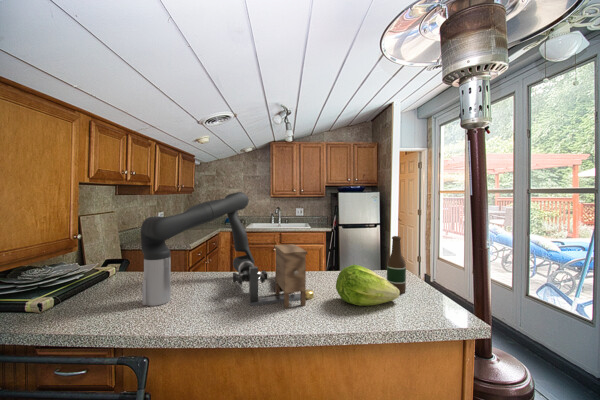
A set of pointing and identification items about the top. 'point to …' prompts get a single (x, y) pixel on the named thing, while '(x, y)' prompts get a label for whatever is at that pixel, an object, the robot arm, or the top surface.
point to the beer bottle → (396, 266)
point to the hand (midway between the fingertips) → (252, 281)
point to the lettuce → (364, 287)
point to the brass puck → (309, 294)
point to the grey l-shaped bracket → (266, 300)
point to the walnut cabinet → (290, 271)
